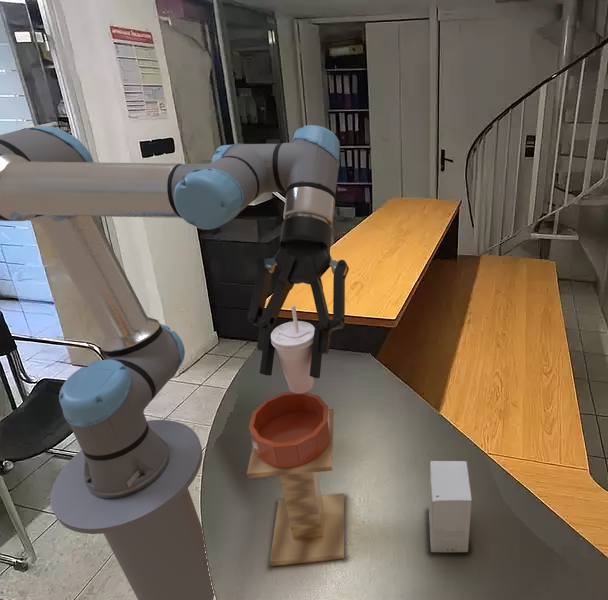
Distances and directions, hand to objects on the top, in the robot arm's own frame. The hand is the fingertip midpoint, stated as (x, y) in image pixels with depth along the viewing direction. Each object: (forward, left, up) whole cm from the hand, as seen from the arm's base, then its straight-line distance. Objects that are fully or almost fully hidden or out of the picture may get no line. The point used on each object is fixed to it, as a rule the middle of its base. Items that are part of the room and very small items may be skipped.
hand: (290, 375), depth 68 cm
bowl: (-1, 0, -12) cm, 12 cm away
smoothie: (+1, +4, -5) cm, 6 cm away
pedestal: (-1, 0, -34) cm, 34 cm away
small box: (+23, -3, -34) cm, 41 cm away
